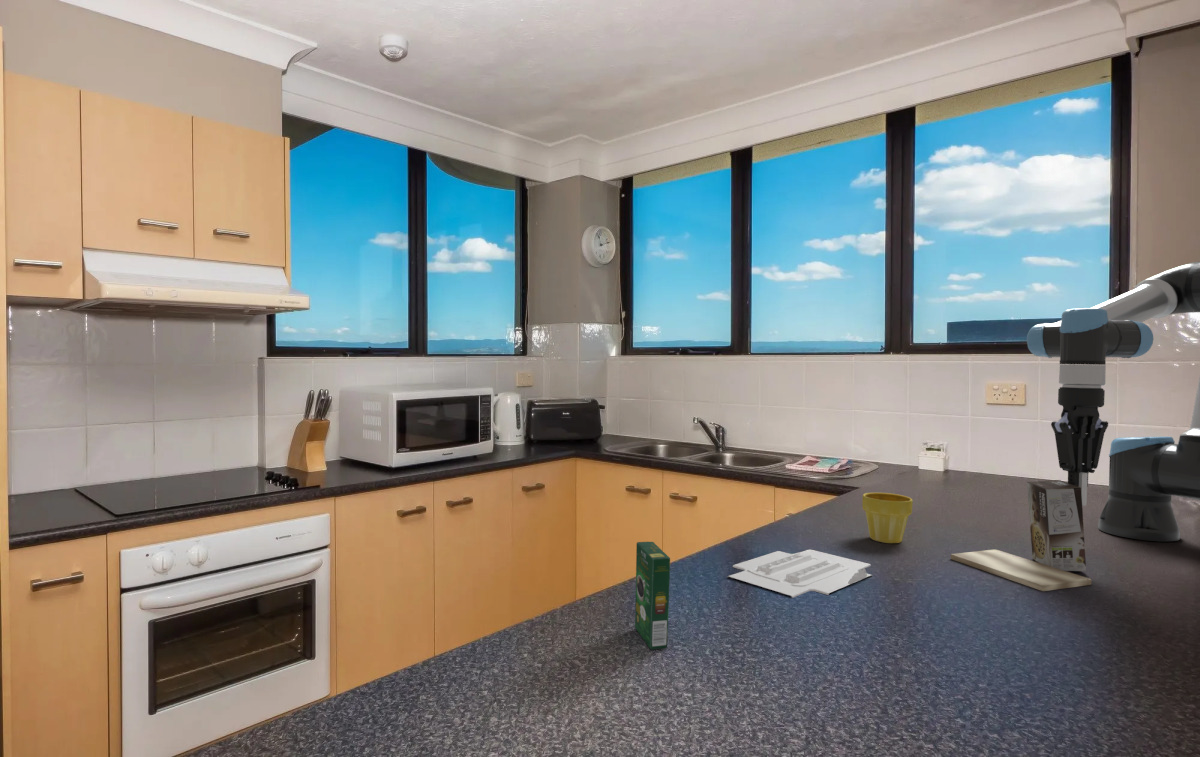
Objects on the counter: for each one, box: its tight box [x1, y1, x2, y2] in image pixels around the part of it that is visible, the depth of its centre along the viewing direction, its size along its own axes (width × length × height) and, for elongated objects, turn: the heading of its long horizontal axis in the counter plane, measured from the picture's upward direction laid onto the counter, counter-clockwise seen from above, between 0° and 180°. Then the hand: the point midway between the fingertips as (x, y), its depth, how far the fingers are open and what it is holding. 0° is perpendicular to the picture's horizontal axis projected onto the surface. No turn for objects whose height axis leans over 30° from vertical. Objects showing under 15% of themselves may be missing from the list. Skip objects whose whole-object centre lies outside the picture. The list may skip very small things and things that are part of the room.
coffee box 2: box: [1026, 479, 1087, 572], centre depth 134 cm, size 9×6×16 cm
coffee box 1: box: [634, 541, 671, 651], centre depth 97 cm, size 8×3×13 cm, turn 13°
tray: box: [727, 549, 873, 599], centre depth 129 cm, size 20×28×4 cm
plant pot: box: [861, 492, 914, 544], centre depth 153 cm, size 10×10×10 cm
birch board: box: [950, 549, 1093, 592], centre depth 131 cm, size 12×20×1 cm, turn 19°
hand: (1077, 504), depth 136 cm, fingers closed
